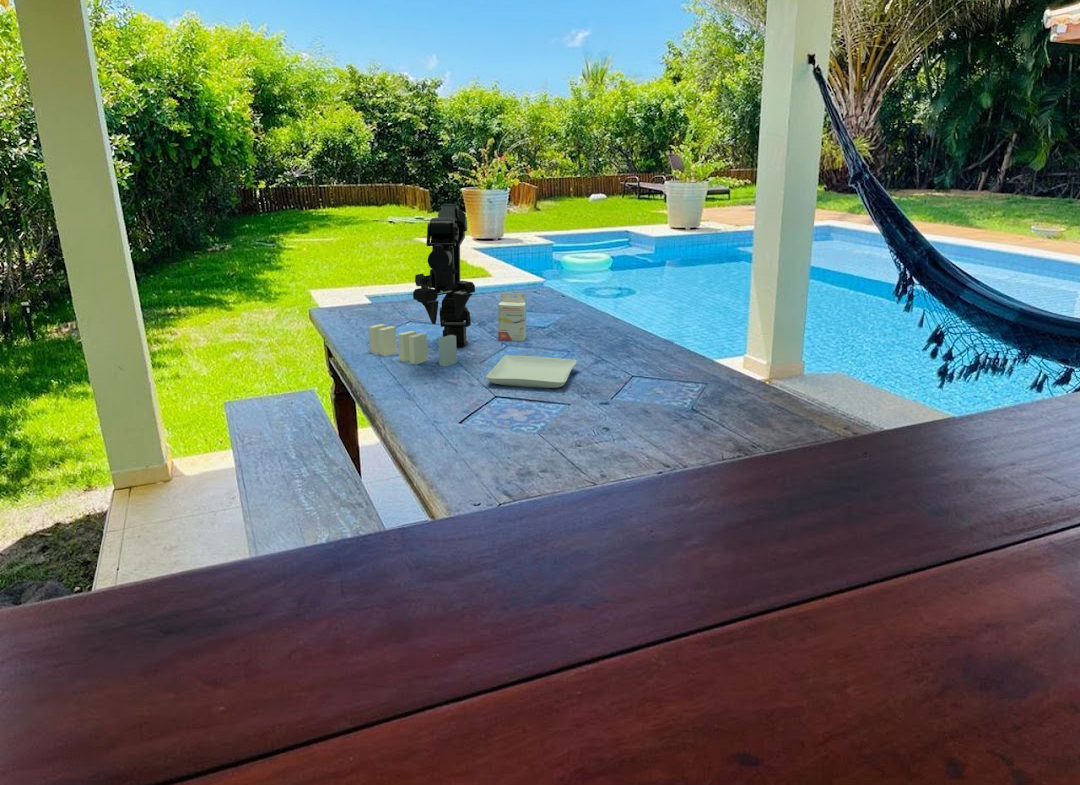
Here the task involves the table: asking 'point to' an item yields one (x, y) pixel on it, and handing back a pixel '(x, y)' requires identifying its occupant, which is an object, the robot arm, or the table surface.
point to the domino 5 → (447, 350)
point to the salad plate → (531, 371)
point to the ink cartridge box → (512, 317)
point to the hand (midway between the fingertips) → (445, 321)
